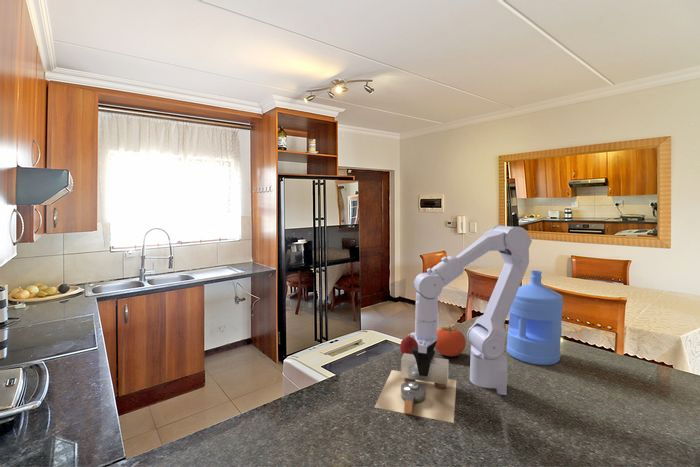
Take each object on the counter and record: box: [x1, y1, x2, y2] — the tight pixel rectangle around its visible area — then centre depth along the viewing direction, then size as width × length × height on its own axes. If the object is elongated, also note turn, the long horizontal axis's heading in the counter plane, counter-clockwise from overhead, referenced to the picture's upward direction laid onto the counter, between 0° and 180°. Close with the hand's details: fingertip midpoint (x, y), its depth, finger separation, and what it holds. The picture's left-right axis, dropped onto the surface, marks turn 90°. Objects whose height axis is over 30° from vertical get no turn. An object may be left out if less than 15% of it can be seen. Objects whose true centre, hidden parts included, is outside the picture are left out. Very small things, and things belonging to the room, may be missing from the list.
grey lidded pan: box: [401, 381, 426, 416], centre depth 85 cm, size 11×6×3 cm, turn 161°
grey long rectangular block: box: [400, 353, 450, 385], centre depth 93 cm, size 12×4×5 cm, turn 71°
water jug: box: [506, 270, 564, 366], centre depth 114 cm, size 16×16×28 cm
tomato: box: [434, 325, 467, 357], centre depth 114 cm, size 10×10×10 cm
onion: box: [399, 333, 418, 355], centre depth 111 cm, size 6×6×8 cm
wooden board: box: [374, 369, 457, 424], centre depth 89 cm, size 18×20×3 cm
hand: (425, 368), depth 93 cm, fingers open, 7 cm apart
